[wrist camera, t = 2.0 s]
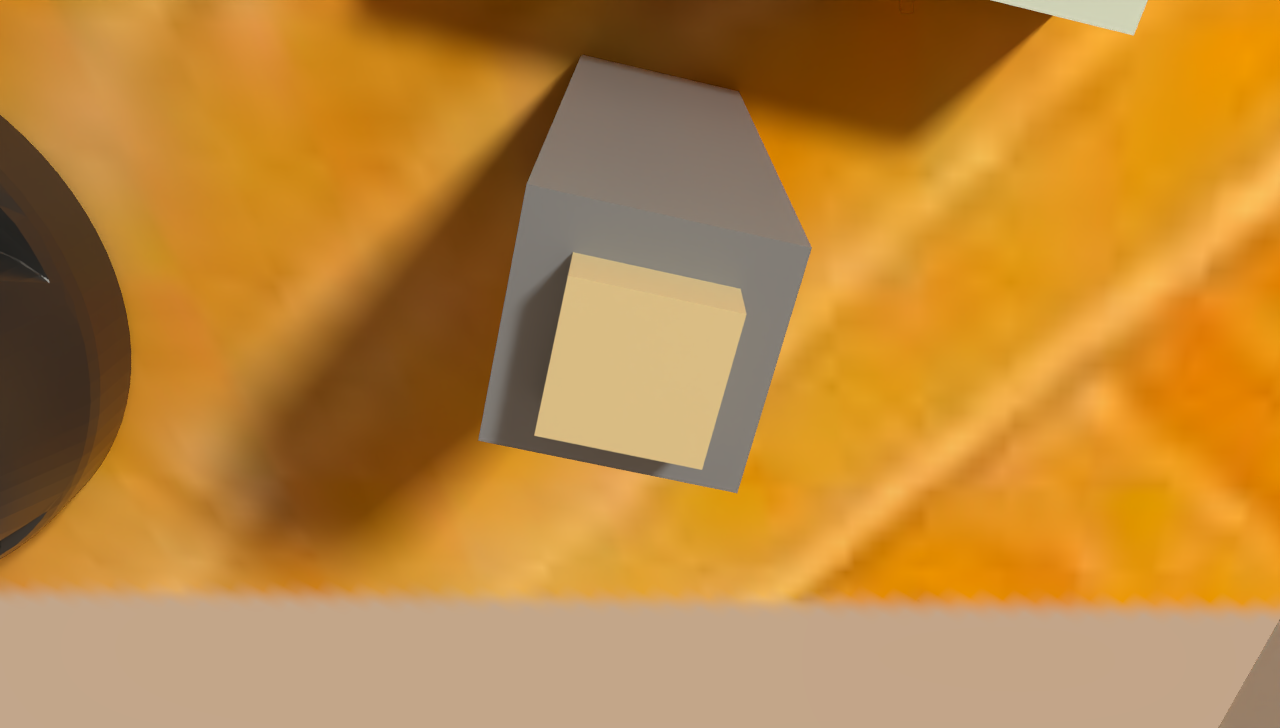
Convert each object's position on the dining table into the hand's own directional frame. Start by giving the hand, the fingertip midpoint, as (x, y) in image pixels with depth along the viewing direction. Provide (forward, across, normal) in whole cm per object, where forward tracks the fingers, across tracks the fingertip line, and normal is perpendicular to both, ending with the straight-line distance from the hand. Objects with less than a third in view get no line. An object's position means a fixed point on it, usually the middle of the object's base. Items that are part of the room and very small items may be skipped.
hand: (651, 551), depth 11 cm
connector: (+18, 0, 0) cm, 18 cm away
